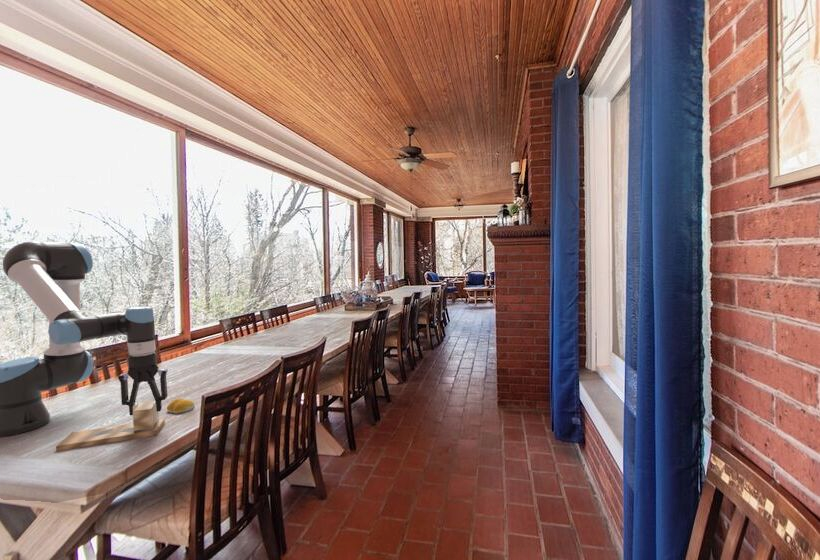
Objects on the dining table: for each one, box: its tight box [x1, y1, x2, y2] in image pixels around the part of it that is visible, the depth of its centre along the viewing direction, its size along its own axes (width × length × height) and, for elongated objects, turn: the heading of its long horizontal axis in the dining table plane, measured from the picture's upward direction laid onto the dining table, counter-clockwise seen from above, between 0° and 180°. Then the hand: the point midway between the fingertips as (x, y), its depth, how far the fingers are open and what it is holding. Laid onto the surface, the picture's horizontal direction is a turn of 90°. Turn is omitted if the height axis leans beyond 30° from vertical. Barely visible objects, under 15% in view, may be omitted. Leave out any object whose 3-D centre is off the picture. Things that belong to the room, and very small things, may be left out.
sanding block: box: [132, 400, 160, 433], centre depth 126 cm, size 5×8×7 cm, turn 21°
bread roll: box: [166, 398, 195, 414], centre depth 145 cm, size 8×9×4 cm
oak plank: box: [55, 418, 166, 452], centre depth 124 cm, size 26×10×2 cm, turn 111°
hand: (146, 422), depth 127 cm, fingers closed on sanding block, 5 cm apart
